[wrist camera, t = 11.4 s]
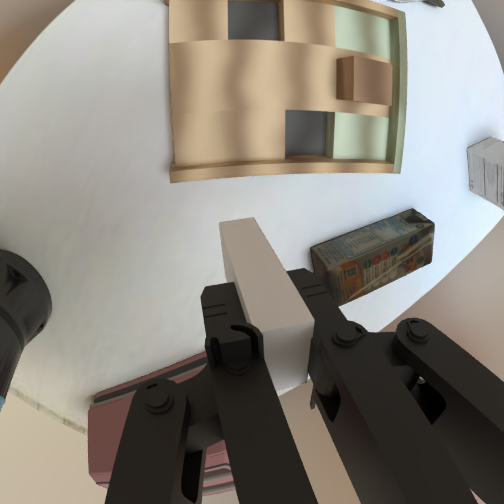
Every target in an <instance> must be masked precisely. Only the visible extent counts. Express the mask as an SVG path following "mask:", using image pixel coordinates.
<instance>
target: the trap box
mask: <svg viewBox="0 0 504 504" xmlns="http://www.w3.org/2000/svg"><path fill="white" fill-rule="evenodd" d="M165 4H166V5H169V68H170V95H171V113H172V129H173V143H174V155H175V163H172V165H171V168H170V171H169V175H170V183H177V182H186V181H196V180H207V179H218V178H230V177H244V176H259V175H278V174H303V173H396V174H400V172H401V164H402V155H403V146H404V135H405V122H406V105H407V35H406V19H405V12H402V11H399V10H397V9H394V8H391V7H388V6H385V5H382V4H379V3H376V2H373V1H369V0H165ZM349 56H358V57H363V58H368V59H372V60H377V61H381V62H385V63H389V64H392V106H386V105H379V104H371V103H364V102H356V101H348V100H338V99H336V59H338V58H344V57H349Z"/></svg>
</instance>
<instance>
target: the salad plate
mask: <svg viewBox="0 0 504 504" xmlns="http://www.w3.org/2000/svg"><path fill="white" fill-rule="evenodd" d="M394 1H397V2H413V1H421V0H394ZM424 1H427V2H429V3H431V4H433V5H435V6H438V7H441V8H442V7H443V6H445V4H444V2H443V1H442V0H424Z"/></svg>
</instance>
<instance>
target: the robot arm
mask: <svg viewBox="0 0 504 504" xmlns="http://www.w3.org/2000/svg"><path fill="white" fill-rule="evenodd" d="M219 228H220V237H221V245H222V253H223V261H224V269H225V277H226V280H227V283H224V284H218V285H212V286H206V287H205V288H204V290H203V292H202V295H201V304H202V311H203V318H204V325H205V332H206V339H205V350H206V354H207V358H208V361H207V364H206V365H205V367H204V368H203V369H202V370H201V371H200V372H199V373H198V374H197V375H195V376H193V377H191V378H189V379H187V380H185V381H183V382H180V383H176V382H175V381H173V380H169V379H165V378H163V379H153V380H151V381H148V382H146V383H144V384H143V385H142V386H140V387H139V388H138V389H137V390H136V392H135V394H134V396H133V398H132V401H131V404H130V408H129V411H128V415H127V418H126V421H125V425H124V428H123V432H122V435H121V439H120V443H119V446H118V450H117V454H116V458H115V462H114V466H113V470H112V474H111V478H110V482H109V486H108V490H107V495H106V500H105V504H201V502H202V492H203V481H204V471H205V462H206V452H207V447H209V446H211V445H214V444H216V443H218V442H220V441H222V440H224V441H225V446H226V450H227V455H228V459H229V464H230V468H231V472H232V476H233V480H234V484H235V488H236V492H237V496H238V500H239V504H318V502H317V499H316V497H315V494H314V492H313V489H312V486H311V484H310V481H309V479H308V476H307V474H306V471H305V469H304V466H303V463H302V461H301V458H300V455H299V452H298V450H297V447H296V445H295V442H294V439H293V436H292V434H291V431H290V429H289V426H288V423H287V420H286V417H285V415H284V412H283V409H282V407H281V404H280V401H279V398H278V395H277V393H276V391H277V390H281V389H285V388H289V387H293V386H297V385H300V384H304V383H307V378H308V373H309V375H310V378H311V380H312V382H313V390H312V395H311V401H310V406H311V409H314V408H315V403H316V404H317V406H318V409H319V411H320V413H321V415H322V418H323V420H324V422H325V424H326V427H327V429H328V431H329V433H330V435H331V438H332V440H333V442H334V444H335V447H336V449H337V451H338V453H339V456H340V458H341V460H342V462H343V465H344V466H345V469H346V471H347V473H348V476H349V478H350V480H351V482H352V485H353V487H354V489H355V491H356V493H357V496H358V498H359V500H360V502H361V504H478V503H477V501H476V499H475V498H474V495H473V494H472V492H471V490H472V491H473V492H474V493H475V494H476V495H477V496H478V497H479V498H480V499H481V500H483V501H484V502H485V503H486V504H504V382H503V381H502V380H501V379H499V378H498V377H497V376H496V375H495V374H493V373H492V372H491V371H490V370H489V369H487V368H486V367H485V366H484V365H483V364H481V363H480V362H479V361H478V360H476V359H475V358H474V357H472V356H471V355H470V354H469V353H468V352H466V351H465V350H464V349H463V348H461V347H460V346H459V345H458V344H456V343H455V342H454V341H452V340H451V339H450V338H449V337H447V336H446V335H445V334H443V333H442V332H441V331H440V330H438V329H437V328H436V327H434V326H433V325H432V324H430V323H429V322H427V321H425V320H423V319H419V318H407V319H405V320H402V321H401V322H400V323H399V324H398V325H397V328H396V331H395V332H378V333H375V332H368V331H367V330H366V329H365V328H364V327H363V326H362V325H360V324H358V323H356V322H354V321H348V320H347V319H346V318H345V316H344V315H343V313H342V312H341V310H340V309H339V308H338V306H337V305H336V303H335V302H334V300H333V299H332V298H331V296H330V295H329V293H327V290H326V289H325V288H324V286H322V283H321V282H320V281H319V279H318V278H317V276H316V275H315V274H313V273H312V272H310V271H308V270H307V269H305V268H301V269H296V270H291V271H286V270H285V269H284V267H283V265H282V264H281V262H280V260H279V259H278V257H277V255H276V254H275V252H274V250H273V249H272V247H271V245H270V244H269V242H268V240H267V239H266V237H265V235H264V234H263V232H262V230H261V229H260V227H259V225H258V224H257V222H256V220H255V219H254V217H253V218H246V219H239V220H232V221H225V222H219ZM51 310H52V303H51V297H50V294H49V291H48V289H47V286H46V284H45V283H44V281H43V279H42V278H41V276H40V275H39V274H38V272H37V271H36V270H35V269H34V268H33V267H32V266H31V265H30V264H29V263H28V262H27V261H25V260H24V259H23V258H21V257H19V256H18V255H16V254H14V253H11V252H8V251H1V250H0V411H1V408H2V405H3V404H4V403H5V399H6V395H7V392H8V389H9V386H10V383H11V380H12V378H13V375H14V372H15V369H16V367H17V364H18V361H19V359H20V356H21V354H22V351H23V349H24V347H25V346H26V345H27V344H28V343H29V342H30V341H31V340H32V339H33V338H35V337H36V336H37V335H38V334H39V333H40V332H41V331H42V330H43V329H44V327H45V326H46V324H47V322H48V319H49V317H50V315H51ZM420 376H421V377H422V378H423V379H424V380H421V379H420V378H419V377H420ZM470 489H471V490H470Z"/></svg>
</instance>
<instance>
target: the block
mask: <svg viewBox="0 0 504 504" xmlns="http://www.w3.org/2000/svg"><path fill="white" fill-rule="evenodd" d="M336 99H338V100H348V101H356V102H364V103H371V104H379V105H386V106H392V64H389V63H385V62H381V61H377V60H372V59H368V58H363V57H358V56H349V57H344V58H338V59H336Z"/></svg>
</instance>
